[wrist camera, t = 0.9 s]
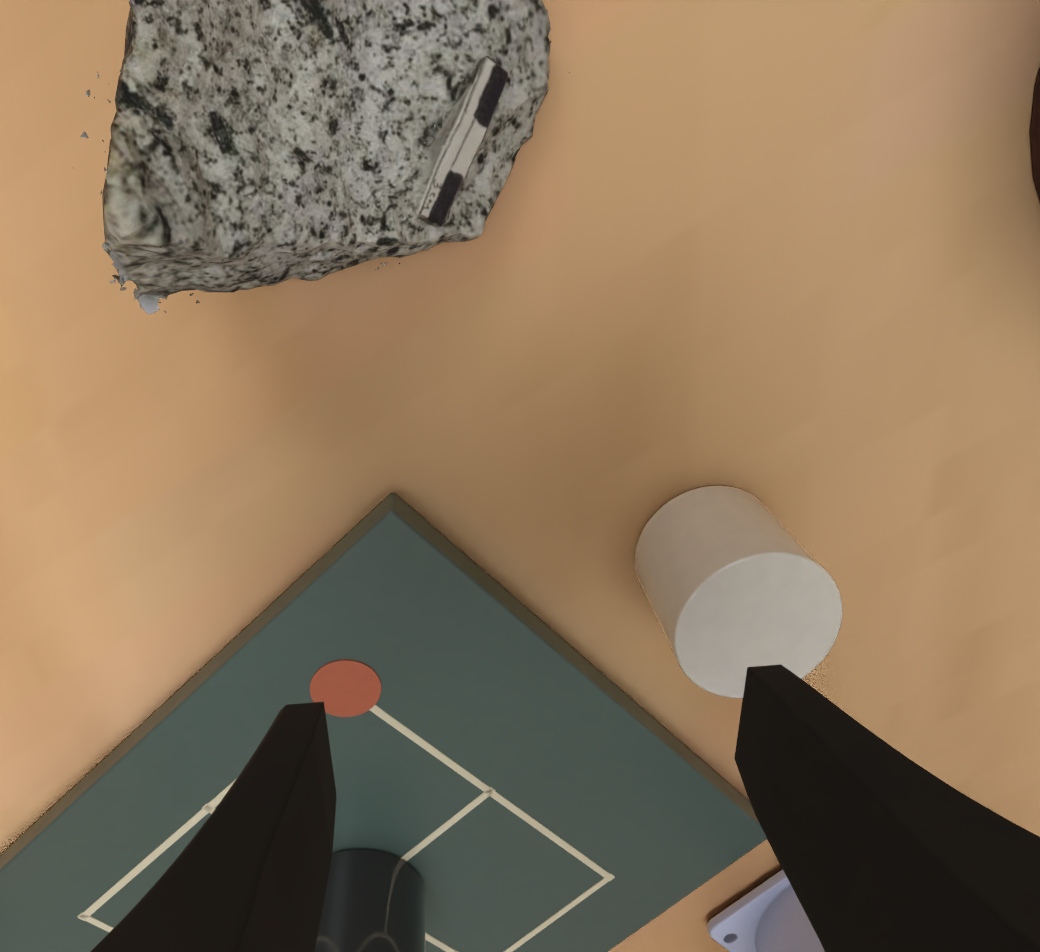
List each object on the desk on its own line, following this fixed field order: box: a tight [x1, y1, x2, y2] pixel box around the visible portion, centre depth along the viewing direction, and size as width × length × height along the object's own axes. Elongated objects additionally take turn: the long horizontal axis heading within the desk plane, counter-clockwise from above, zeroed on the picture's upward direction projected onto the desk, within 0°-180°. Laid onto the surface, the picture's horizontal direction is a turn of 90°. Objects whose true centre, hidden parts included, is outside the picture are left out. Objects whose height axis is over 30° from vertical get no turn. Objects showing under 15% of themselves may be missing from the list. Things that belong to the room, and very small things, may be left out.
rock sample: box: [81, 0, 570, 314], centre depth 15 cm, size 10×8×9 cm
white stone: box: [635, 486, 842, 698], centre depth 21 cm, size 4×4×4 cm
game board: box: [0, 493, 767, 952], centre depth 26 cm, size 18×22×1 cm
